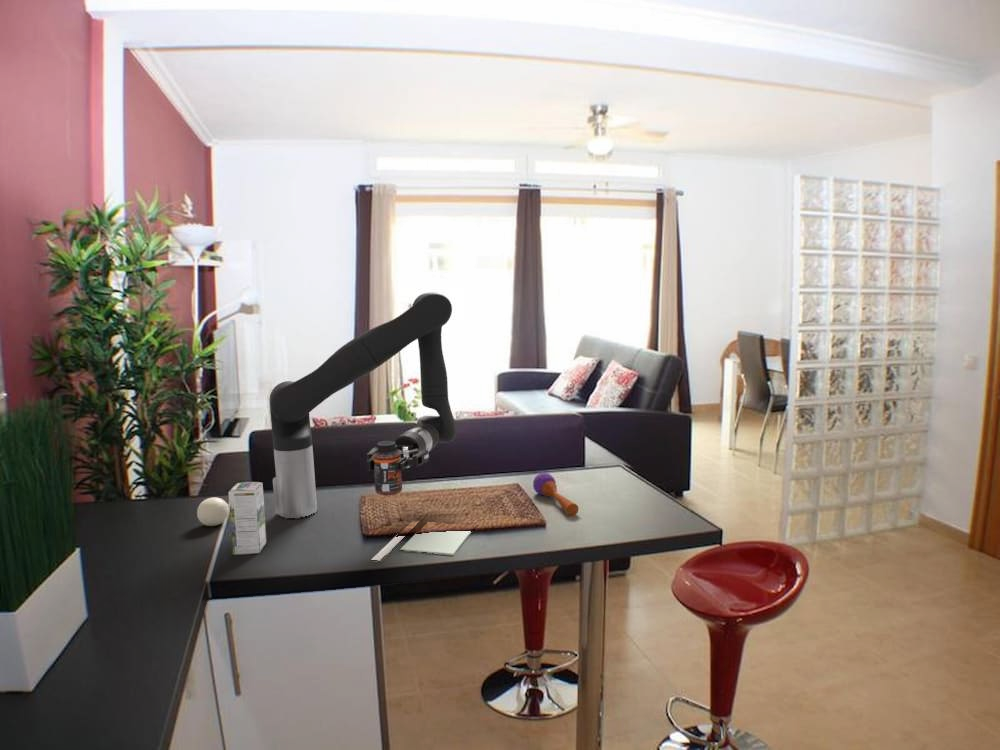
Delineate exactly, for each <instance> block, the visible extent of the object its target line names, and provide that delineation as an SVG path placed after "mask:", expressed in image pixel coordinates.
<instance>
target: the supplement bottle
mask: <svg viewBox="0 0 1000 750" xmlns="http://www.w3.org/2000/svg"><path fill="white" fill-rule="evenodd" d="M377 449H378V450H377V452H376V453H375V454H374V469H373V472H374V489H375V493H376V494H377V495H380V496H388V497H389V496H394V495H398V494H399V493H400V492H401V491H402V490H403V479H402V478H403V477H402V476H403V475H402V470H401V471H400V472H396V471H395V463H396V462H397V461H398V460H400V459H401V456H400V452H399V451H397V450H396V443H395V442H394V440H382V441H378V442H377Z"/></svg>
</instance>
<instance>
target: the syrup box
mask: <svg viewBox="0 0 1000 750" xmlns="http://www.w3.org/2000/svg"><path fill="white" fill-rule="evenodd" d="M263 483H264V482H259V481H243V482H238V483H236V484H235V485H234V486H233V487H232V488H231V489H230V490H229V491H228V500H229V501H228V502H229V503H228V506H229V517H230V531H231V543H232V544H231V545H232V555H234V556H236V555H237V556H238V555H252V554H260V553H261V552H262V550H263V548H264V547H265V546H266V545H267V543H268V542H267V541H268V540H267V530H266V529H267V528H266V516H265V515H266V514H265V513H266V511H265V498H264V487H263Z"/></svg>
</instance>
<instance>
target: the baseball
mask: <svg viewBox="0 0 1000 750" xmlns="http://www.w3.org/2000/svg"><path fill="white" fill-rule="evenodd" d="M229 512H230V505H229V503H227V502H226V501H225V500H224V499H223V498H221V497H220V498H219V497H215V496H214V497H208V498H206V499H204V500H203V501H202V502H200V504H199V505H198V507H197V511H196V515H197V519H198V520H199V522H200V523H201V524H203V525H205V526H207V527H215V526H218V525H221V524H223V523H224V522H225V520H227V517H228V516H229Z"/></svg>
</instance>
